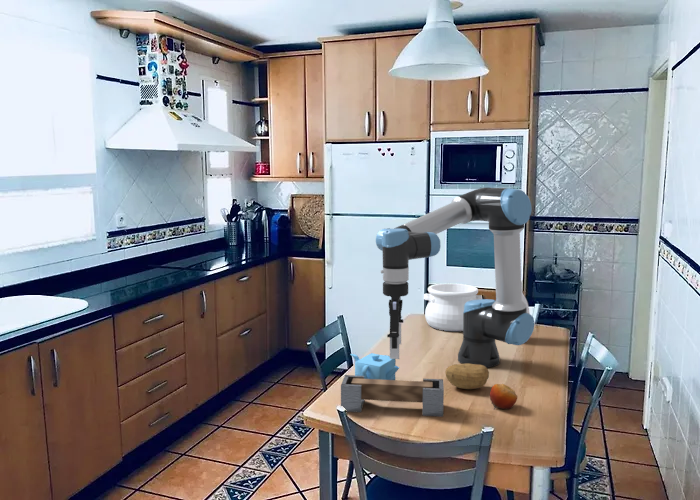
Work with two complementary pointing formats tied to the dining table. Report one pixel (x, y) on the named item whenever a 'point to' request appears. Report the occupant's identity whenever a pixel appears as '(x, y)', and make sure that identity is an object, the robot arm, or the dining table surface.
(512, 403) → the fruit
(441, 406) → the bracket
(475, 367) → the potato
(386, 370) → the teapot
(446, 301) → the pot
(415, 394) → the rail
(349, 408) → the bracket
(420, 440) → the dining table surface
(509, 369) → the dining table surface
